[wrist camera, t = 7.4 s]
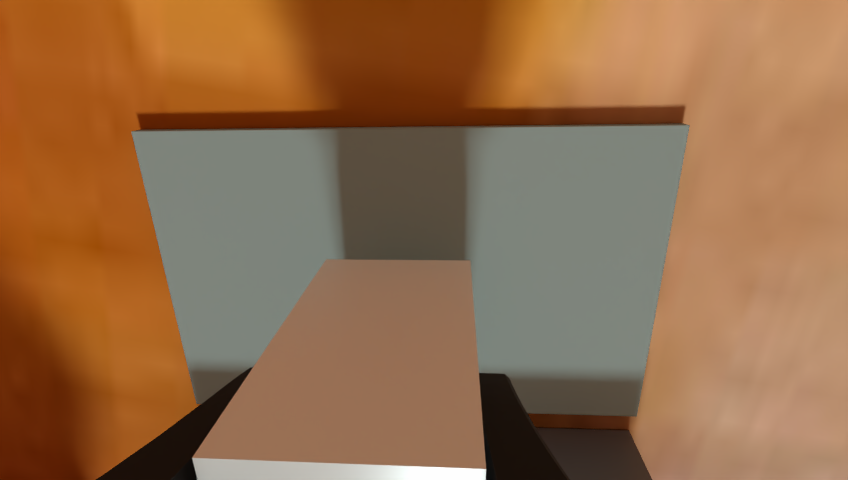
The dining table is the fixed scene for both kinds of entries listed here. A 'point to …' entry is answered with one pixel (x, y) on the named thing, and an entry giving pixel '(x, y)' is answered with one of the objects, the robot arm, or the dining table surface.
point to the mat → (427, 239)
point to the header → (595, 454)
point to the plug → (361, 382)
